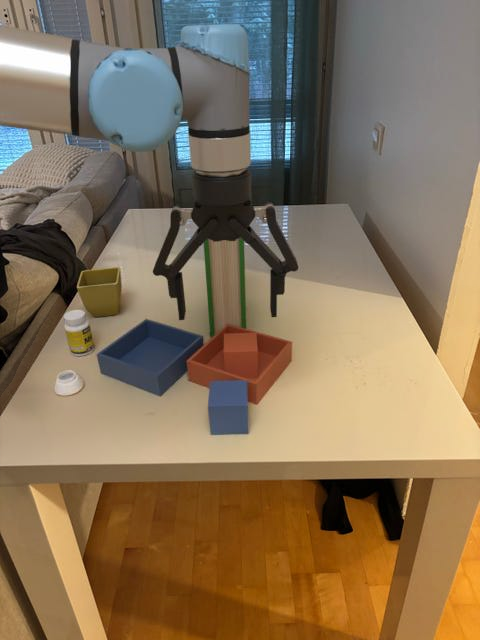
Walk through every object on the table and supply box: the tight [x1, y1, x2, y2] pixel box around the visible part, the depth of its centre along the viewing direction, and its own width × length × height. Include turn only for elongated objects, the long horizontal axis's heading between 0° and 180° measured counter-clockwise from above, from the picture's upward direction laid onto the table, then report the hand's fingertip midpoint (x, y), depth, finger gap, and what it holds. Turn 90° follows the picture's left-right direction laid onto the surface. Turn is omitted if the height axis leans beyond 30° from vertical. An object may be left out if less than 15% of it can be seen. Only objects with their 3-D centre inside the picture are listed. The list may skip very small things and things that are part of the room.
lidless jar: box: [53, 369, 85, 397], centre depth 84 cm, size 5×3×5 cm
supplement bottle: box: [63, 309, 95, 357], centre depth 93 cm, size 5×5×8 cm
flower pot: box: [76, 266, 123, 318], centre depth 106 cm, size 9×9×9 cm
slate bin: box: [96, 318, 205, 397], centre depth 89 cm, size 14×14×4 cm
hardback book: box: [203, 237, 247, 340], centre depth 97 cm, size 18×7×24 cm, turn 3°
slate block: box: [207, 380, 249, 436], centre depth 74 cm, size 6×6×6 cm
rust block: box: [224, 333, 258, 378], centre depth 86 cm, size 6×6×6 cm
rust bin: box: [187, 324, 293, 406], centre depth 86 cm, size 14×14×4 cm
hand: (227, 314), depth 70 cm, fingers open, 13 cm apart
